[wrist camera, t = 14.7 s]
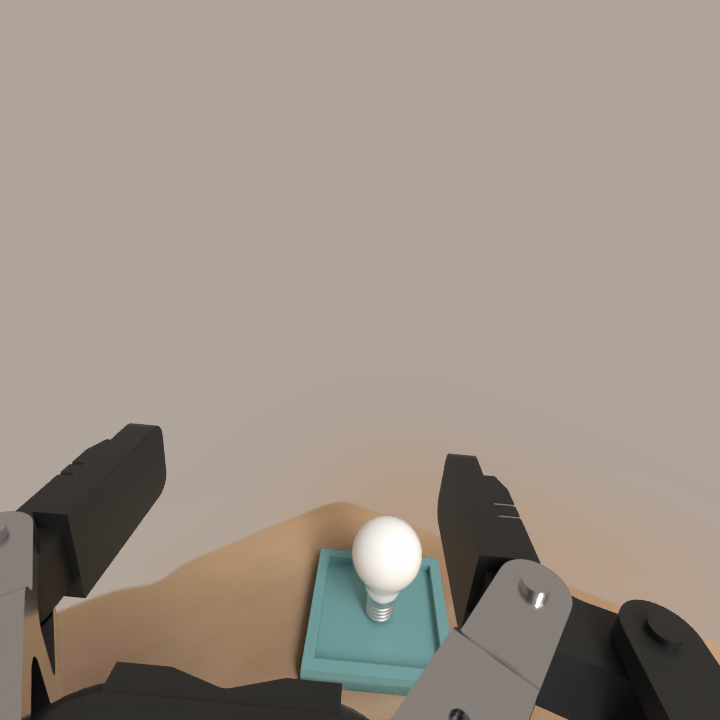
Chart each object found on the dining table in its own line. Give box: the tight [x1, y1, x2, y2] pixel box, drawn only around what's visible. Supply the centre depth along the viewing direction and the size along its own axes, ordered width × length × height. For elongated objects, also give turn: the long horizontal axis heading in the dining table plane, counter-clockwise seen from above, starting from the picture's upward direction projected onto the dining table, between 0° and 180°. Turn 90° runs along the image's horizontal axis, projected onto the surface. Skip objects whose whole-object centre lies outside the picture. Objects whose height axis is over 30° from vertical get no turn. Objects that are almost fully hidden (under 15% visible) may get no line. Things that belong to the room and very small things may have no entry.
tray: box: [300, 548, 449, 696], centre depth 41 cm, size 13×13×2 cm
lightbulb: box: [352, 515, 422, 622], centre depth 39 cm, size 6×6×11 cm
